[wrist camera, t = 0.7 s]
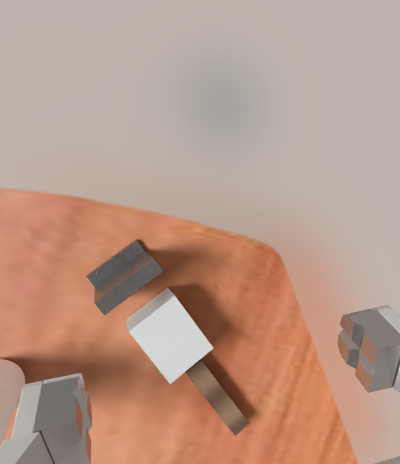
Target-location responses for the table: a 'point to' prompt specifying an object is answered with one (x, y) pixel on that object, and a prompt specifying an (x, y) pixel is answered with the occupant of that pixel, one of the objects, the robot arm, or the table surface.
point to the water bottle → (9, 392)
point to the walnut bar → (217, 397)
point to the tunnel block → (168, 335)
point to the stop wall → (122, 276)
